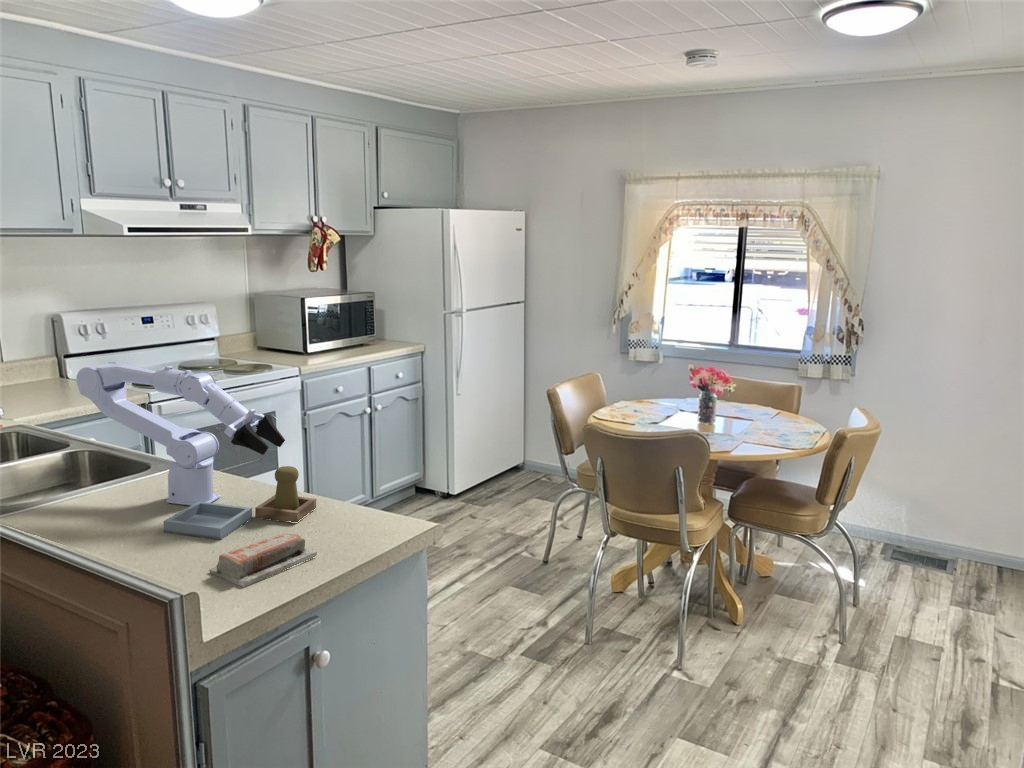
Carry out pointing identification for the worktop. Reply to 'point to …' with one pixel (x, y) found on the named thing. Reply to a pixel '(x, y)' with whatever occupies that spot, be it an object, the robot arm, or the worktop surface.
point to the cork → (286, 488)
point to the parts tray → (208, 520)
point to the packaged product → (262, 559)
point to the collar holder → (269, 512)
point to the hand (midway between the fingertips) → (274, 447)
